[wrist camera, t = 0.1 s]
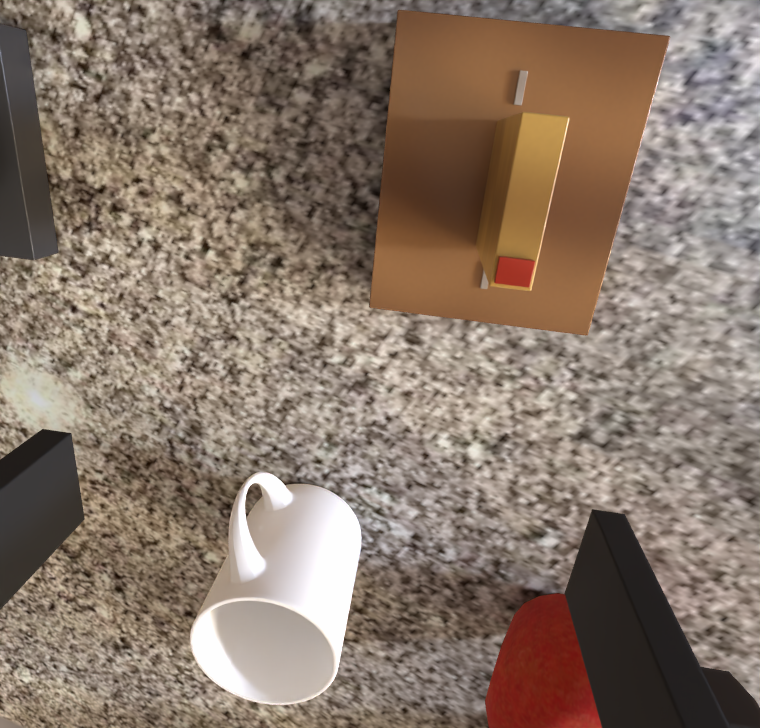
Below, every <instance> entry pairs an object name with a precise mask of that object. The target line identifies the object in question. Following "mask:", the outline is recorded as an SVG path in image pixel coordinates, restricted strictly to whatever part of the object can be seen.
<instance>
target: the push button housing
mask: <svg viewBox="0 0 760 728" xmlns="http://www.w3.org/2000/svg"><path fill="white" fill-rule="evenodd" d="M56 253H58V247H57V240H56V233H55V226H54V219H53V213H52V206H51V199H50V192H49V185H48V178H47V171H46V164H45V157H44V150H43V144H42V137H41V130H40V123H39V116H38V109H37V102H36V95H35V88H34V81H33V75H32V68H31V61H30V54H29V47H28V40H27V33H26V30H24V29H20V28H16V27H12V26H9V25H5V24H1V23H0V256H5V257H13V258H21V259H29V260H36V259H40V258H43V257H46V256H50V255H53V254H56Z"/></svg>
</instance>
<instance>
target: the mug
mask: <svg viewBox="0 0 760 728" xmlns="http://www.w3.org/2000/svg"><path fill="white" fill-rule="evenodd" d="M253 483H257V484H258V485H259V486H260V488H261V490H262V495H263V496H262V497H261V498H260V499H259V500H258V501H257V502H256V504H255V505H254V506H253V508H252V509H251V511H250V513H249V514H248V516H247V518H246V514H245V499H246V494H247V490H248V488H249V487H250V485H252V484H253ZM228 544H229V554H228V556H227V558H226V559H225V561H224V563H223V565H222V567H221V569H220V571H219V573H218V575H217V577H216V579H215V581H214V583H213V585H212V587H211V589H210V591H209V593H208V595H207V597H206V599H205V601H204V603H203V605H202V607H201V609H200V611H199V613H198V615H197V616H196V618H195V620H194V623H193V625H192V628H191V632H190V645H191V650H192V653H193V656H194V658H195V660H196V662H197V664H198V665H199V667H200V668H201V669H202V671H203V672H204V673H205V674H206V675H207V676H208V677H209V678H210V679H211V680H212V681H213V682H215V683H216V684H217V685H219V686H220V687H222V688H223V689H225V690H226V691H228V692H230V693H232V694H234V695H236V696H239V697H241V698H244V699H247V700H250V701H254V702H258V703H263V704H271V705H288V704H295V703H300V702H304V701H307V700H309V699H312V698H314V697H316V696H318V695H319V694H321V693H322V692H323V691H325V690H326V689H327V688H328V687H329V686H330V684H331V683H332V681H333V680H334V678H335V676H336V674H337V671H338V666H339V661H340V655H341V650H342V645H343V640H344V634H345V629H346V624H347V619H348V613H349V608H350V603H351V598H352V592H353V587H354V582H355V577H356V571H357V566H358V561H359V556H360V550H361V529H360V525H359V522H358V520H357V517H356V515H355V514H354V512H353V511H352V509H351V508H350V507H349V505H348V504H347V503H346V502H345V501H344V500H343V499H341V498H340V497H339V496H337V495H336V494H334V493H333V492H331V491H329V490H327V489H324V488H322V487H318V486H315V485H310V484H288V485H284V484H283V483H282V481H281V480H280V479H278V478H277V477H276V476H274V475H272V474H271V473H268V472H257V473H254V474H253V475H251V476H250V477H249V478H248V479H247V480H246V481H245V483H244V484H243V485H242V487H241V488H240V490H239V492H238V494H237V496H236V499H235V502H234V504H233V508H232V512H231V516H230V522H229V539H228Z"/></svg>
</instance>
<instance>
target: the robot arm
mask: <svg viewBox="0 0 760 728" xmlns="http://www.w3.org/2000/svg"><path fill="white" fill-rule="evenodd" d="M84 519H85V518H84V512H83V506H82V499H81V493H80V486H79V480H78V474H77V467H76V461H75V454H74V448H73V442H72V435H71V433H66V432H59V431H52V430H45V429H42V430H41V431H39V432H38V433H36V434H35V435H34V436H32V437H31V438H30V439H28V440H27V441H25V442H24V443H23V444H21V445H20V446H19V447H17V448H16V449H15V450H13V451H12V452H10V453H9V454H8V455H6V456H5V457H4V458H2V459H1V460H0V609H1V608H2V607H3V606H4V605H5V604H6V603H7V602H8V601H9V600H10V599H11V597H12V596H13V595H14V594H15V593H16V592H17V591H18V590H19V589H20V588H21V587H22V586H23V585H24V584H25V582H26V581H27V580H28V579H29V578H30V577H31V576H32V575H33V574H34V573H35V572H36V571H37V570H38V569H39V567H40V566H41V565H42V564H43V563H44V562H45V561H46V560H47V559H48V558H49V557H50V556H51V555H52V554H53V552H54V551H55V550H56V549H57V548H58V547H59V546H60V545H61V544H62V543H63V542H64V541H65V540H66V539H67V537H68V536H69V535H70V534H71V533H72V532H73V531H74V530H75V529H76V528H77V527H78V526H79V525H80V524H81V522H82V521H83V520H84ZM565 596H566V600H567V603H568V607H569V611H570V614H571V618H572V621H573V625H574V629H575V632H576V636H577V639H578V643H579V647H580V650H581V654H582V657H583V661H584V665H585V668H586V672H587V675H588V679H589V683H590V686H591V690H592V693H593V697H594V701H595V704H596V708H597V711H598V715H599V719H600V722H601V726H602V728H760V708H759V706H758V704H757V702H756V701H755V699H754V698H753V697H752V696H751V695H750V694H749V693H748V692H747V691H746V690H745V689H744V687H743V686H742V685H741V684H740V683H739V682H738V681H737V680H736V679H735V678H734V677H733V676H732V674H731V673H730V672H729V671H722V670H716V669H710V668H704V667H700V665H699V663H698V661H697V659H696V657H695V655H694V653H693V651H692V649H691V647H690V645H689V643H688V641H687V639H686V637H685V635H684V633H683V631H682V629H681V627H680V625H679V623H678V621H677V619H676V617H675V615H674V613H673V611H672V609H671V607H670V605H669V603H668V601H667V599H666V597H665V595H664V593H663V591H662V589H661V587H660V585H659V583H658V581H657V579H656V577H655V574H654V572H653V570H652V568H651V566H650V564H649V562H648V560H647V558H646V556H645V554H644V552H643V550H642V548H641V546H640V544H639V542H638V540H637V538H636V536H635V534H634V532H633V530H632V528H631V526H630V524H629V522H628V520H627V518H626V516H625V514H620V513H613V512H606V511H600V510H593V509H592V512H591V515H590V518H589V521H588V524H587V527H586V530H585V533H584V536H583V539H582V542H581V546H580V549H579V552H578V555H577V558H576V561H575V564H574V567H573V570H572V573H571V576H570V579H569V582H568V585H567V588H566V591H565Z"/></svg>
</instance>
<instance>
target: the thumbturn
mask: <svg viewBox="0 0 760 728" xmlns="http://www.w3.org/2000/svg"><path fill="white" fill-rule="evenodd" d="M568 124H569V117H568V116H559V115H550V114H541V113H531V112H522V113H518V114H515V115H512V116H509V117H506V118H503V119H500V120H498V121H497V125H496V131H495V137H494V143H493V149H492V154H491V160H490V166H489V172H488V178H487V183H486V189H485V195H484V201H483V206H482V212H481V218H480V224H479V230H478V235H477V241H476V249H477V252H478V254H479V257H480V260H481V263H482V266H483V269H484V272H485V274H486V277H487V280H488V283H489V286H492V287H500V288H508V289H516V290H524V291H531V290H532V285H533V281H534V276H535V272H536V267H537V263H538V258H539V254H540V249H541V245H542V240H543V236H544V231H545V227H546V222H547V218H548V213H549V209H550V204H551V200H552V195H553V191H554V186H555V182H556V177H557V173H558V169H559V164H560V160H561V155H562V151H563V146H564V142H565V137H566V133H567V128H568Z"/></svg>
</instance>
